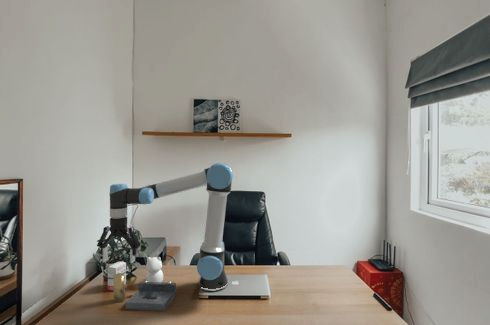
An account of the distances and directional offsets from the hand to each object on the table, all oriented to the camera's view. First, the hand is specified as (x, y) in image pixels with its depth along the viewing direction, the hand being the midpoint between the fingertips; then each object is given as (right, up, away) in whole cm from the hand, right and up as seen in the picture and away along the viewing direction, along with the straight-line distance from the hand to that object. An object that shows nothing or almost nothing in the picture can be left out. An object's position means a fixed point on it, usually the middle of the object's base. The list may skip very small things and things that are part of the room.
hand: (118, 261), depth 127 cm
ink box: (-7, -19, +14) cm, 24 cm away
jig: (+16, -18, -2) cm, 24 cm away
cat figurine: (+11, -18, +18) cm, 28 cm away
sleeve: (0, -18, 0) cm, 18 cm away
